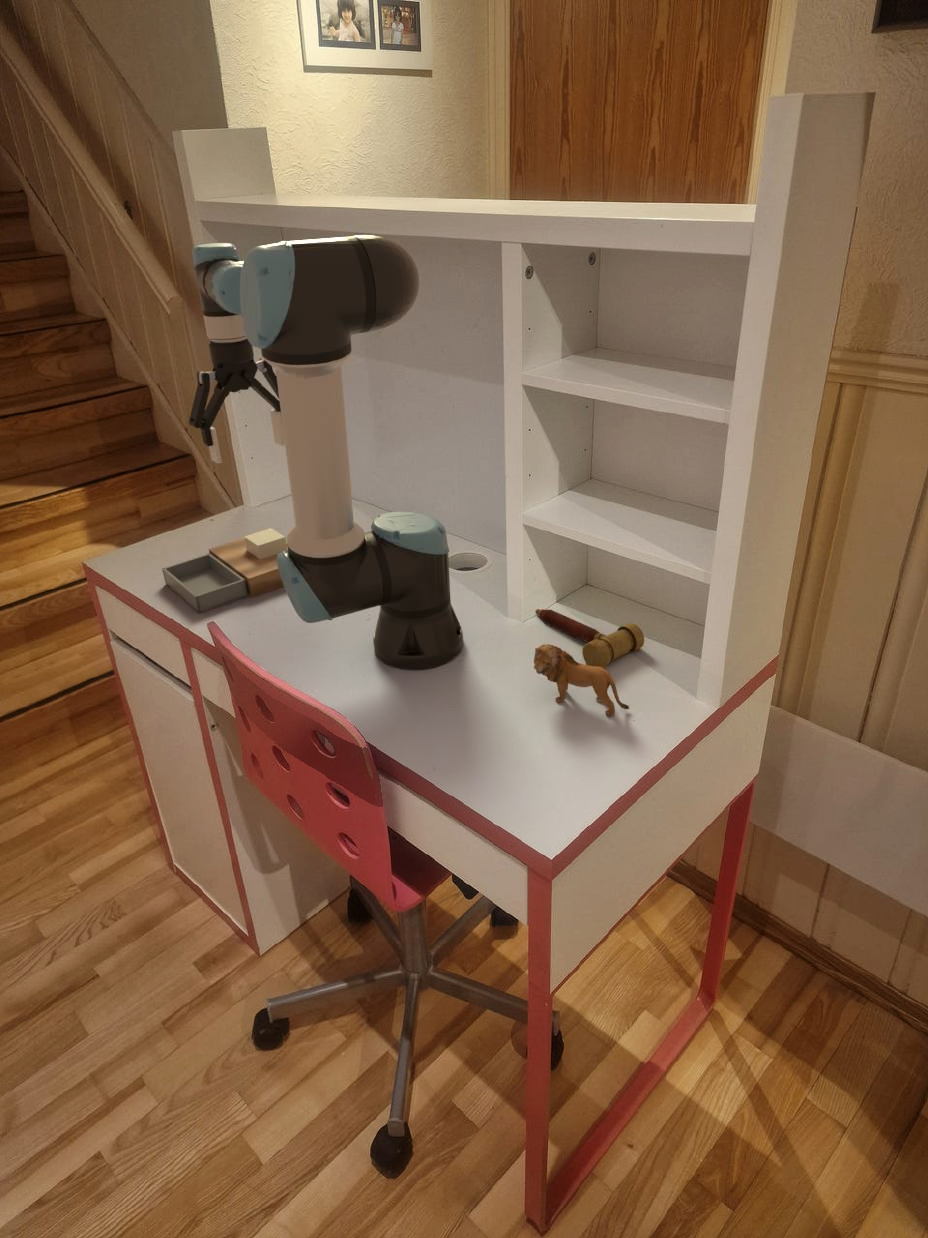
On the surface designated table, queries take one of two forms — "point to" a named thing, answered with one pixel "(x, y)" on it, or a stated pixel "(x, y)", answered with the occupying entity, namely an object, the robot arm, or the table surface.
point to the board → (249, 566)
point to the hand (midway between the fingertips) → (249, 452)
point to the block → (265, 543)
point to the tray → (205, 582)
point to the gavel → (597, 638)
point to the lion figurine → (574, 675)
